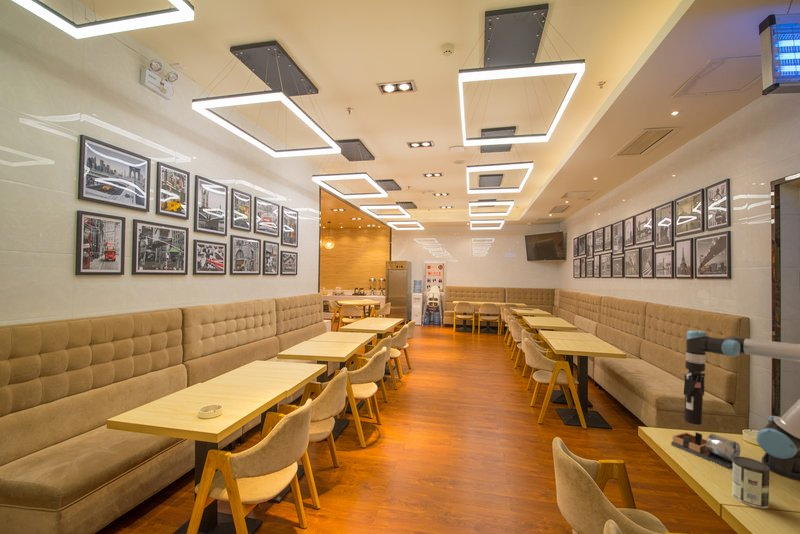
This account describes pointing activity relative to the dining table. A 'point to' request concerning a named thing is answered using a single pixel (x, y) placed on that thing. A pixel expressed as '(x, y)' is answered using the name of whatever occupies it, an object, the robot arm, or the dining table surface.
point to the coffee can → (750, 482)
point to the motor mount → (708, 447)
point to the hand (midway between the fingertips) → (693, 408)
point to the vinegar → (695, 407)
